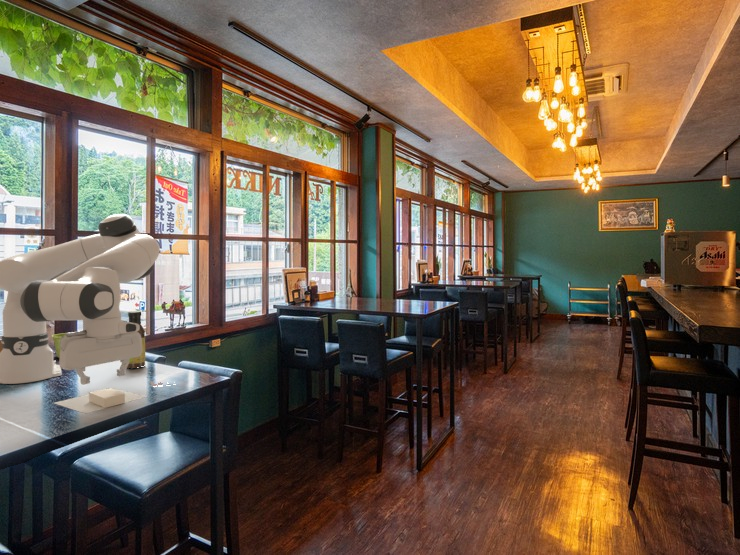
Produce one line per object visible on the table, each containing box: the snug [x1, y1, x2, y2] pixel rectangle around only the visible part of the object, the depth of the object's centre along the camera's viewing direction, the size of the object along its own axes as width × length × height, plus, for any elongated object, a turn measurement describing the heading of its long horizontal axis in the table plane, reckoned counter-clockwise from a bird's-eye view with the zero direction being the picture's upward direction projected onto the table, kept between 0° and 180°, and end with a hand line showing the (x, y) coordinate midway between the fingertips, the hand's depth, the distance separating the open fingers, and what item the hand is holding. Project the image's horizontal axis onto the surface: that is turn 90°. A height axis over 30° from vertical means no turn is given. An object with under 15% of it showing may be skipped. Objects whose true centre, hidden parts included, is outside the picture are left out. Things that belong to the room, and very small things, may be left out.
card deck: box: [88, 388, 125, 409], centre depth 122 cm, size 2×5×9 cm
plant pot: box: [51, 332, 67, 359], centre depth 181 cm, size 9×9×9 cm
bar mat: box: [53, 387, 147, 415], centre depth 124 cm, size 16×16×1 cm
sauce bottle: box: [126, 310, 146, 369], centre depth 162 cm, size 6×6×20 cm
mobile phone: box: [149, 381, 175, 388], centre depth 144 cm, size 8×1×15 cm
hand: (103, 379), depth 123 cm, fingers open, 8 cm apart
